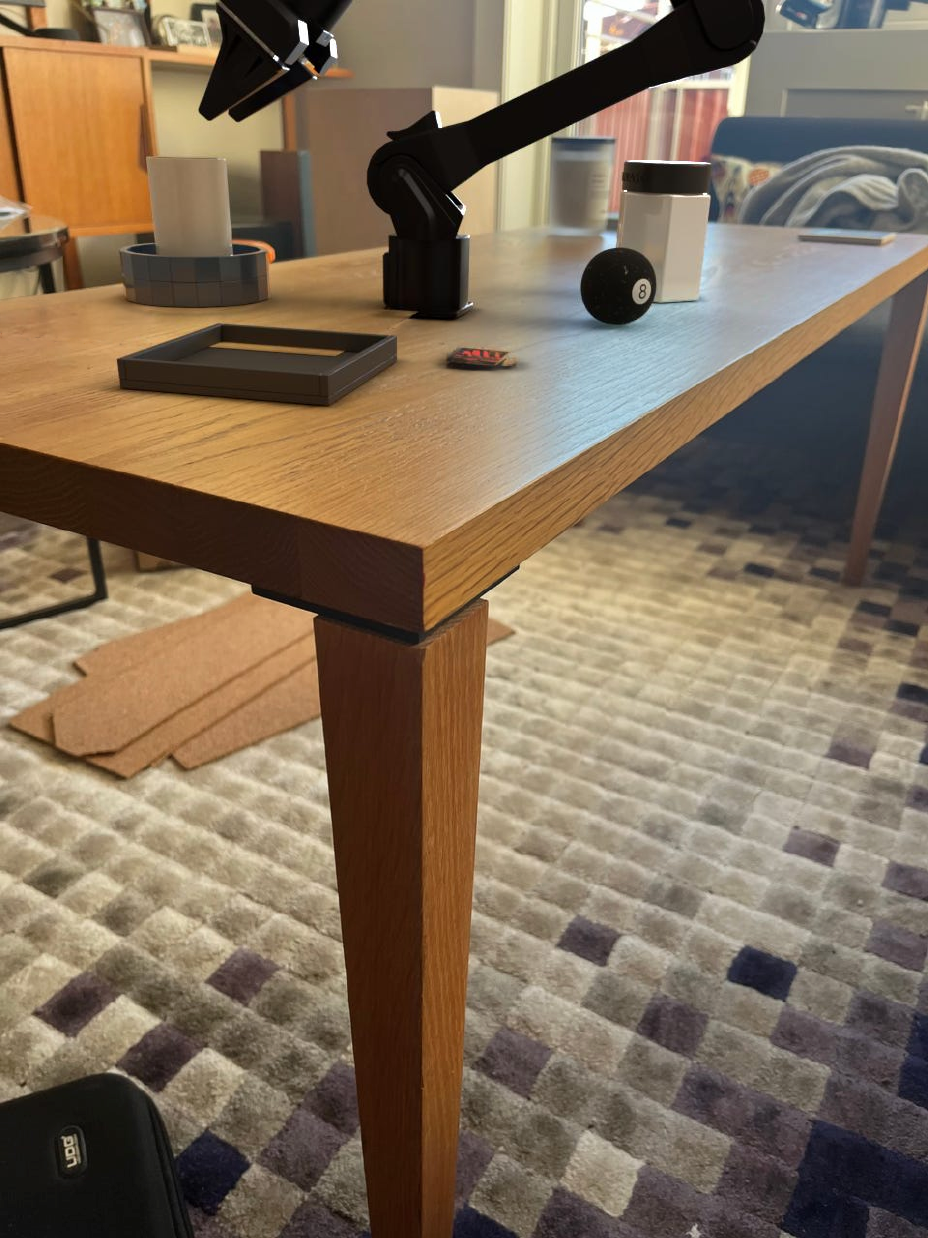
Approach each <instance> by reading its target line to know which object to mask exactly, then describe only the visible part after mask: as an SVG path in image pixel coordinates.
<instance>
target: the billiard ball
mask: <svg viewBox="0 0 928 1238" xmlns="http://www.w3.org/2000/svg"><path fill="white" fill-rule="evenodd" d="M656 287H657V282H656V275H655V271H654V268H653V266H652V265H651V263H650V261H649V260H648V259H647V258H646V257H645V256H644V255H643V254H641V253H639V252H638V251H635V250H633V249H629V248H622V247H618V248H616V247H611V248H607V249H604V250H602V251H600V252H599V253H597V254H595V255H594V256H593V257H592V258H591V259H590V260H589V261H588V263H587V264H586V265H585V267H584V270H583V272H582V274H581V278H580V283H579V291H580V297H581V302H582V304H583V306H584V308H585V310H586V311H587V313H588V314H589V315H590V316H591V317H592V318H593V319H595V320H596V321H598V322H600V323H603V324H606V325H610V326H611V325H612V326H624V325H628V324H631V323H634V322H636V321H638V320H639V319H642V317H643V316H645V314H646V313H647V312H648V311H649V310H650V308H651V306H652V304H653V303H654V302H653V300H654V297H655V294H656Z"/></svg>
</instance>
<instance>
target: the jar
mask: <svg viewBox="0 0 928 1238" xmlns="http://www.w3.org/2000/svg"><path fill="white" fill-rule="evenodd" d="M712 171H713V164H712V163H710V162H698V161H675V160H674V161H673V160H672V161H671V160H625V161H624V162H623V170H622V173H621V191H620V195H619V208H618V219H617V220H618V221H617V228H616V236H615V237H616V241H615V242H616V243H615V248H618V247H622V248H629V249H633V250H635V251H638V252H639V253H641V254H643V255H644V256H645V257H646V258H647V259H648V260H649V261H650V263H651V265H652V266H653V268H654V271H655V275H656V282H657V287H656V294H655V297H654V300H653V303H662V304H663V303H676V302H693V301H694V302H695V301H697V300H699V298H700V297H699V296H700V288H701V282H702V281H701V280H702V271H703V263H704V255H705V246H706V245H705V244H706V239H707V232H708V231H707V230H708V222H709V214H710V206H711V199H712V197H711V195H710V194H709V193H710V186H711V176H712Z"/></svg>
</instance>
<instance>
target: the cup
mask: <svg viewBox="0 0 928 1238" xmlns="http://www.w3.org/2000/svg"><path fill="white" fill-rule="evenodd" d="M145 160H146V161H145V162H146V171H147V177H148V178H147V180H148V189H149V190H148V191H149V196H150V197H149V199H150V209H151V210H150V211H151V218H152V228H153V237H154V238H153V239H154V243H155V248H156V255H164V256H224V255H233V246H232V243H233V235H232V221H231V206H230V194H229V182H228V181H229V180H228V164H227V158H226V157H220V156H219V157H218V156H201V155H200V156H198V155H152V156H150V155H149V156H146V157H145Z"/></svg>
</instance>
